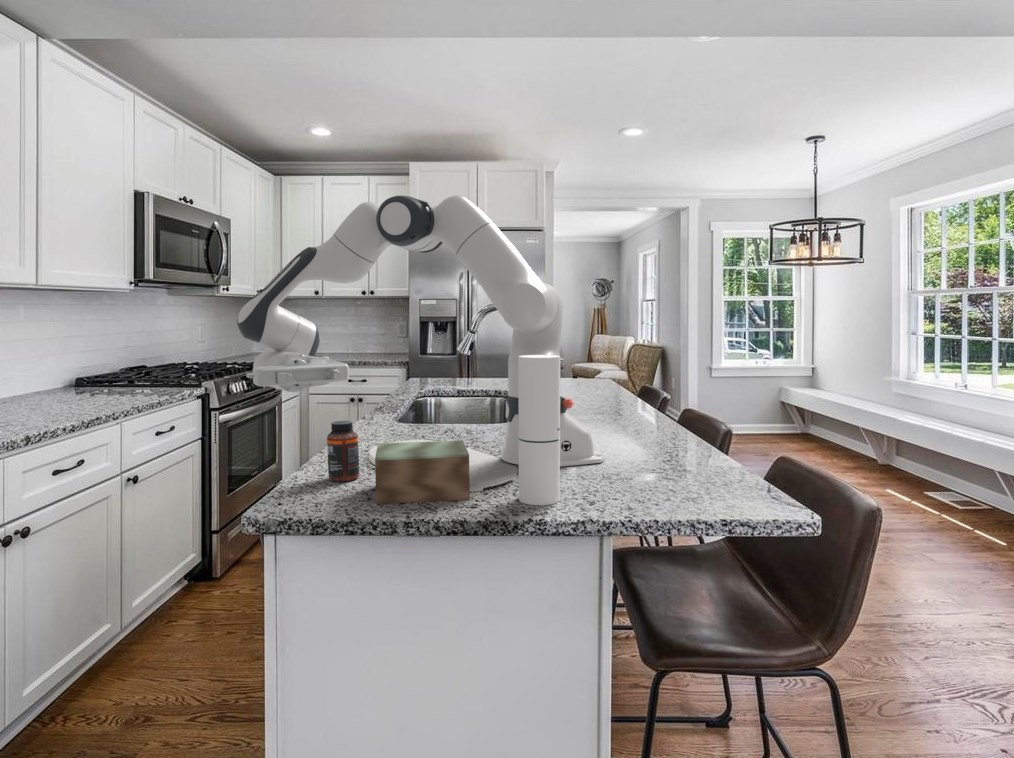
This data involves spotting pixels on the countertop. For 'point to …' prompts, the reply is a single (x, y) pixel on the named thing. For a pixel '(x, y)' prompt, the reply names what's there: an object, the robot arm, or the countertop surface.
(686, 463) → the countertop surface
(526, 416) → the cylindrical container
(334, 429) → the supplement bottle
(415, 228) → the robot arm
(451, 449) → the block
